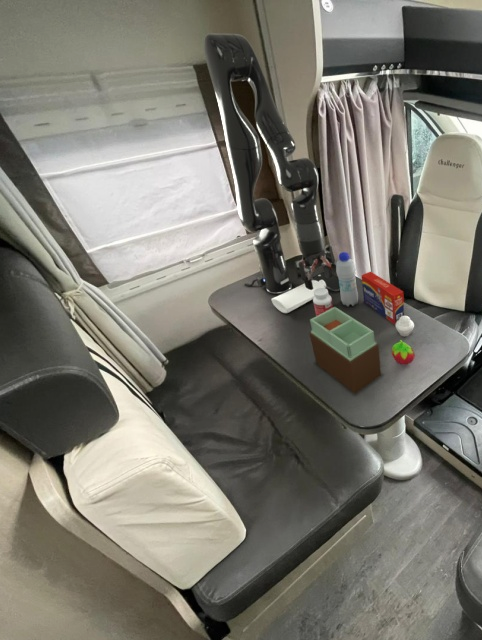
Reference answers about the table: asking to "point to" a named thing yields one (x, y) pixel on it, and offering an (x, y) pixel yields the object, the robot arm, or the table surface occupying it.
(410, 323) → the muffin
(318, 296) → the pill bottle
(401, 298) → the red cardboard box
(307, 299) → the squeeze bottle
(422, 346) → the table surface
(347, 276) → the bottle
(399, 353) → the strawberry
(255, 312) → the table surface
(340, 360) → the rack
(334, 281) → the smartphone
